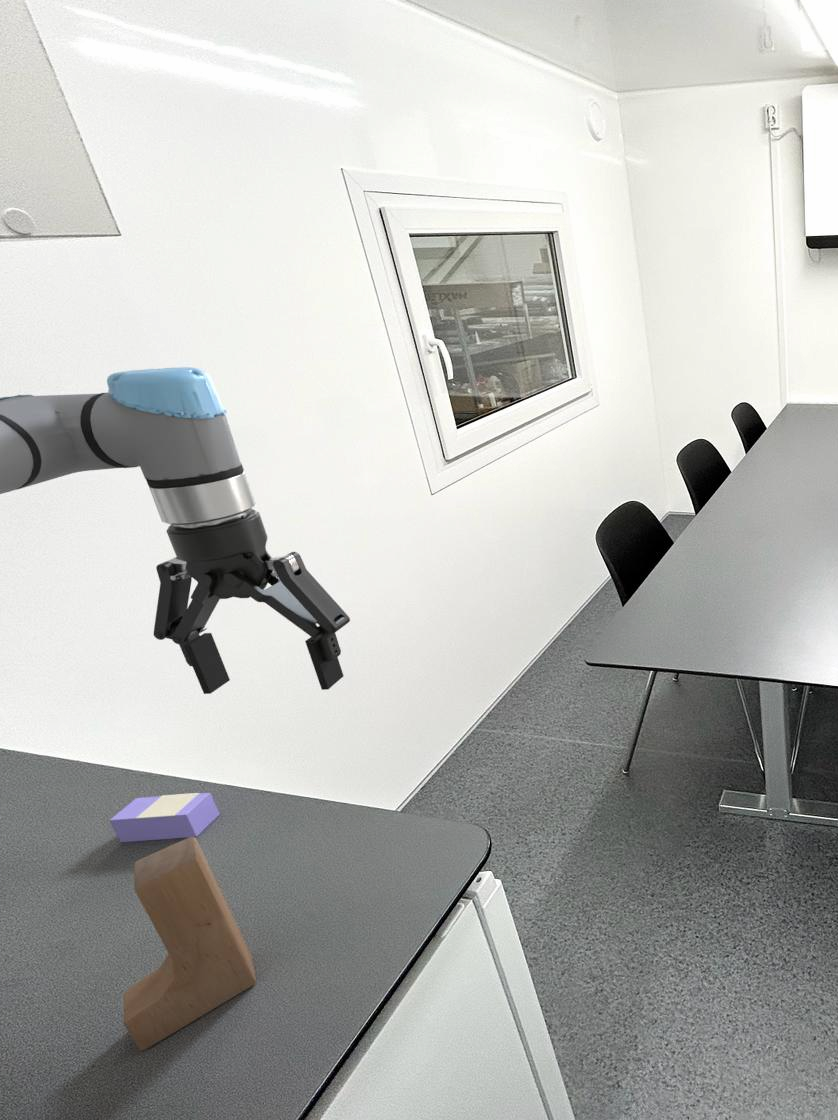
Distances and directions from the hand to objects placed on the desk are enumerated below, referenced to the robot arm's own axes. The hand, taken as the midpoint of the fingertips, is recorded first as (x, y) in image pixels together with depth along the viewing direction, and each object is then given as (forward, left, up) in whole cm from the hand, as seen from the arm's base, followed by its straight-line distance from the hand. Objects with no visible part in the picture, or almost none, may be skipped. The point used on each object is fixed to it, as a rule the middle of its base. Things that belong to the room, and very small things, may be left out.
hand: (275, 685), depth 74 cm
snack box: (-27, +7, -26) cm, 38 cm away
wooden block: (-3, -18, -27) cm, 32 cm away
